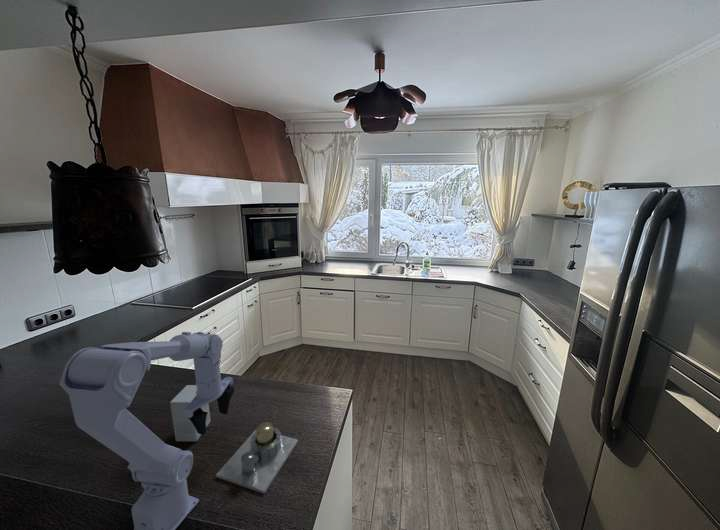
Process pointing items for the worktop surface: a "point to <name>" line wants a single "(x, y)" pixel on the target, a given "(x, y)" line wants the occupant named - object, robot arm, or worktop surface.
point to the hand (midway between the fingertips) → (213, 422)
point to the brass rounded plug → (264, 434)
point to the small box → (180, 422)
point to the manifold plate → (257, 462)
